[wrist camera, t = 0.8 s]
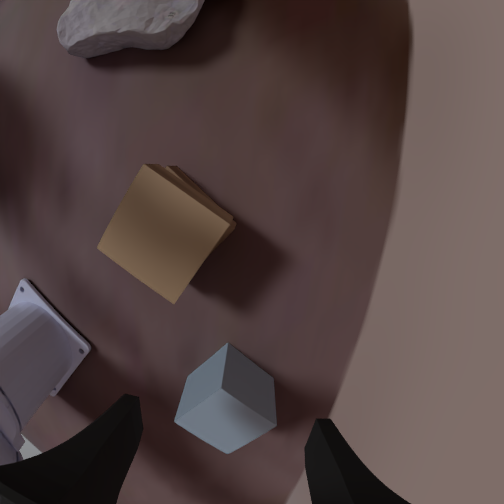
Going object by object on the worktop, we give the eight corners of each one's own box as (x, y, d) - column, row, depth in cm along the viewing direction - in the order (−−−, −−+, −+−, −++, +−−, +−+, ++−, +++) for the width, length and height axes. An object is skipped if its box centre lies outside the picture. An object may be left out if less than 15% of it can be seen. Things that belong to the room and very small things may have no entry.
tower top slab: (183, 287, 17) (174, 304, 15) (114, 238, 17) (96, 247, 15) (233, 216, 16) (230, 224, 14) (158, 164, 16) (143, 163, 13)
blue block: (232, 407, 22) (227, 454, 17) (187, 375, 22) (173, 421, 17) (273, 377, 21) (276, 425, 17) (228, 341, 21) (220, 388, 16)
